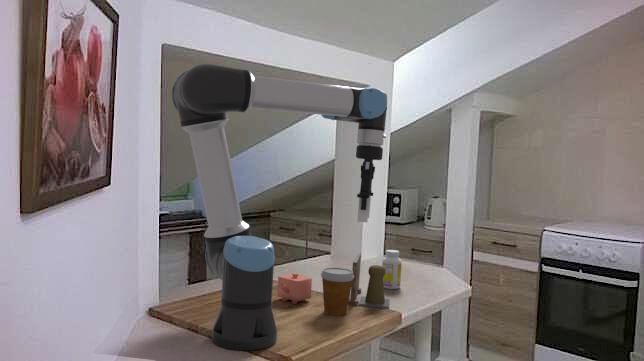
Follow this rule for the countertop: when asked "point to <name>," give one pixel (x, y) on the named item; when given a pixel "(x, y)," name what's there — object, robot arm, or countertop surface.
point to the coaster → (364, 303)
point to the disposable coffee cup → (336, 290)
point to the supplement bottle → (392, 269)
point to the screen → (355, 280)
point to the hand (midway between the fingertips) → (363, 219)
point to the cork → (376, 285)
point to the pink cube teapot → (294, 287)
